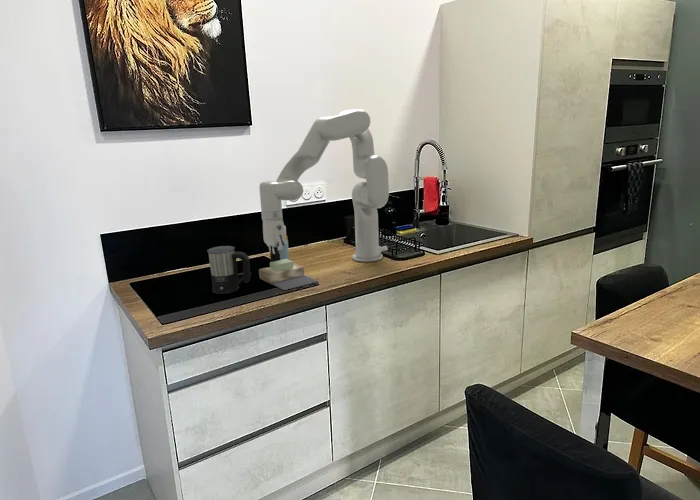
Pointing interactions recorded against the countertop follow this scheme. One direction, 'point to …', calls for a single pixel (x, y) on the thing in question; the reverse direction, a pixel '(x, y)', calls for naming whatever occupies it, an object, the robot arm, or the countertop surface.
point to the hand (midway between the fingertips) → (275, 263)
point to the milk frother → (227, 269)
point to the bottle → (284, 249)
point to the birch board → (280, 273)
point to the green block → (281, 265)
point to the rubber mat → (294, 282)
